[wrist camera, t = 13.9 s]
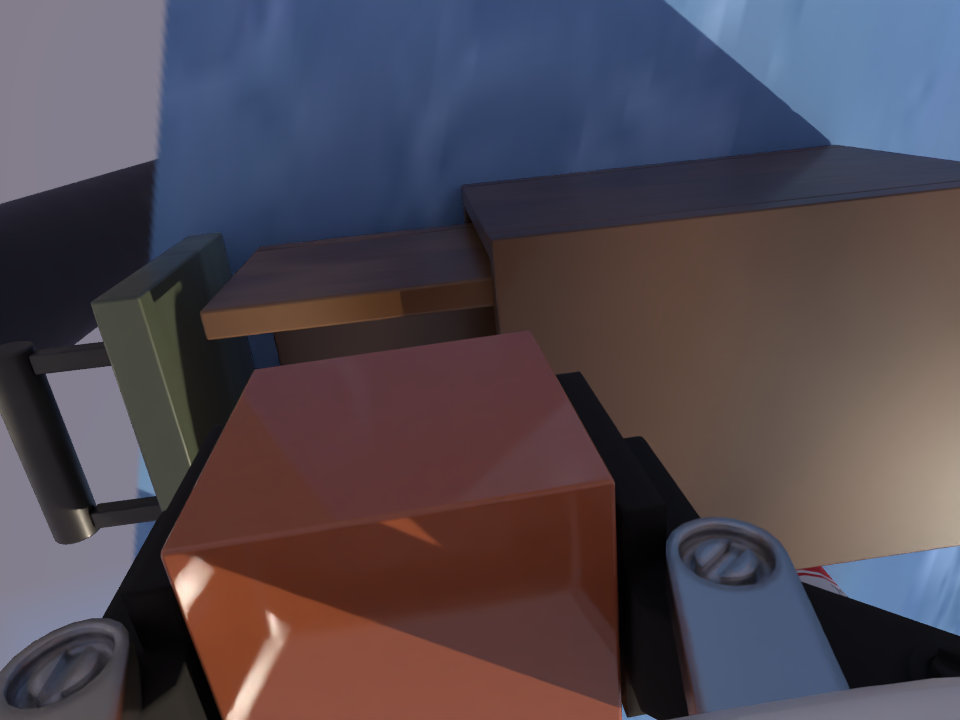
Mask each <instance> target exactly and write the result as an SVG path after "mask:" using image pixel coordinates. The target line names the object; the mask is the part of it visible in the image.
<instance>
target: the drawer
mask: <svg viewBox="0 0 960 720" xmlns="http://www.w3.org/2000/svg"><path fill="white" fill-rule="evenodd" d="M91 307H92V310H93V313H94V316H95V319H96V321H97V324H98V327H99V330H100V333H101V336H102V339H103V342H98V343H89V344H82V345H73V346H64V347H56V348H47V349H39V350H37V351H36V349H35V346H34V344H33V343H31V342H27V341H20V342H12V343H7V344H3V345H0V413H1V416H2V418H3V420H4V423H5V425H6V428H7V430H8V432H9V435H10V437H11V439H12V442H13V444H14V446H15V449H16V451H17V453H18V455H19V458H20V460H21V462H22V465H23V467H24V469H25V472H26V474H27V476H28V479H29V481H30V483H31V486H32V488H33V490H34V493H35V495H36V497H37V499H38V502H39V504H40V507H41V509H42V511H43V514H44V516H45V518H46V520H47V523H48V525H49V528H50V530H51V532H52V535H53V537H54V539H55V541H56V542H58V543H59V544H73V543H77V542H80V541H82V540H85V539H87V538H89V537H91V536H92V535H94V534H95V533H96V532H97V531H98V530H99V529H100V528H104V527H111V526H118V525H126V524H134V523H141V522H149V521H156V520H157V519H158V517H159V516H160V515H161V513H162V512H163V511H165V510H166V509H167V508H168V506H169V504H170V502H171V500H172V499H173V497H174V495H175V493H176V491H177V489H178V488H179V486H180V484H181V482H182V480H183V479H184V477H185V475H186V473H187V471H188V469H189V468H190V466H191V464H192V462H193V460H194V459H195V457H196V455H197V453H198V451H199V449H200V448H201V446H202V444H203V442H204V440H205V439H206V437H207V435H208V433H209V431H210V429H211V428H212V427H213V426H214V425H219V424H226V423H227V421H228V419H229V417H230V415H231V413H232V411H233V409H234V407H235V405H236V403H237V401H238V400H239V398H240V396H241V394H242V392H243V390H244V388H245V386H246V384H247V382H248V380H249V378H250V376H251V374H252V372H253V371H254V370H255V367H254V362H253V358H252V354H251V350H250V346H249V342H248V338H247V335H255V334H263V333H271V332H273V334H274V339H275V343H276V347H277V352H278V356H279V361H280V365H281V366H283V365H290V364H297V363H304V362H311V361H318V360H325V359H332V358H339V357H346V356H353V355H360V354H367V353H374V352H381V351H388V350H395V349H402V348H409V347H416V346H423V345H430V344H437V343H444V342H451V341H458V340H465V339H472V338H479V337H486V336H493V335H496V323H495V312H494V300H493V288H492V277H491V265H490V258H489V256H488V254H487V252H486V249H485V247H484V245H483V243H482V241H481V239H480V237H479V235H478V233H477V231H476V229H475V227H474V225H473V223H466V224H457V225H448V226H439V227H430V228H421V229H412V230H403V231H394V232H385V233H376V234H367V235H358V236H349V237H340V238H331V239H322V240H313V241H304V242H295V243H286V244H277V245H268V246H260V247H259V248H258V249H257V250H256V251H255V253H254V254H253V255H252V256H251V257H250V258H249V259H248V260H247V261H246V262H245V263H244V265H243V266H242V267H241V268H240V269H239V270H238V271H237V272H236V273H235V274H234V275H233V276H232V274H231V270H230V266H229V262H228V258H227V254H226V250H225V246H224V241H223V237H222V234H221V233H219V232H218V233H209V234H200V235H190V236H187V237H186V238H184V239H183V240H182V241H180V242H179V243H177V244H176V245H174V246H173V247H171V248H170V249H168V250H167V251H165V252H164V253H162V254H161V255H159V256H158V257H156V258H155V259H154V260H152V261H151V262H149V263H148V264H146V265H145V266H143V267H142V268H140V269H139V270H137V271H136V272H134V273H133V274H131V275H130V276H129V277H127V278H126V279H124V280H123V281H121V282H120V283H118V284H117V285H115V286H114V287H112V288H111V289H109V290H108V291H106V292H105V293H103V294H102V295H101V296H99V297H98V298H96V299H95V300H93V301H92V302H91ZM105 366H112V368H113V371H114V374H115V377H116V380H117V383H118V385H119V388H120V392H121V394H122V397H123V400H124V403H125V406H126V409H127V412H128V415H129V418H130V421H131V424H132V427H133V429H134V432H135V435H136V438H137V441H138V444H139V447H140V450H141V453H142V456H143V459H144V462H145V465H146V467H147V470H148V473H149V476H150V479H151V482H152V485H153V488H154V491H155V494H156V496H154V497H146V498H138V499H131V500H124V501H116V502H108V503H101V504H98V505H97V506H96V503H95V501H94V498H93V496H92V493H91V491H90V488H89V485H88V483H87V480H86V477H85V475H84V472H83V470H82V467H81V464H80V462H79V459H78V457H77V454H76V452H75V449H74V447H73V444H72V442H71V439H70V436H69V434H68V431H67V428H66V426H65V423H64V421H63V418H62V416H61V413H60V410H59V408H58V405H57V403H56V400H55V398H54V395H53V392H52V390H51V387H50V385H49V382H48V380H47V377H46V373H54V372H63V371H72V370H80V369H87V368H96V367H105Z"/></svg>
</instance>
